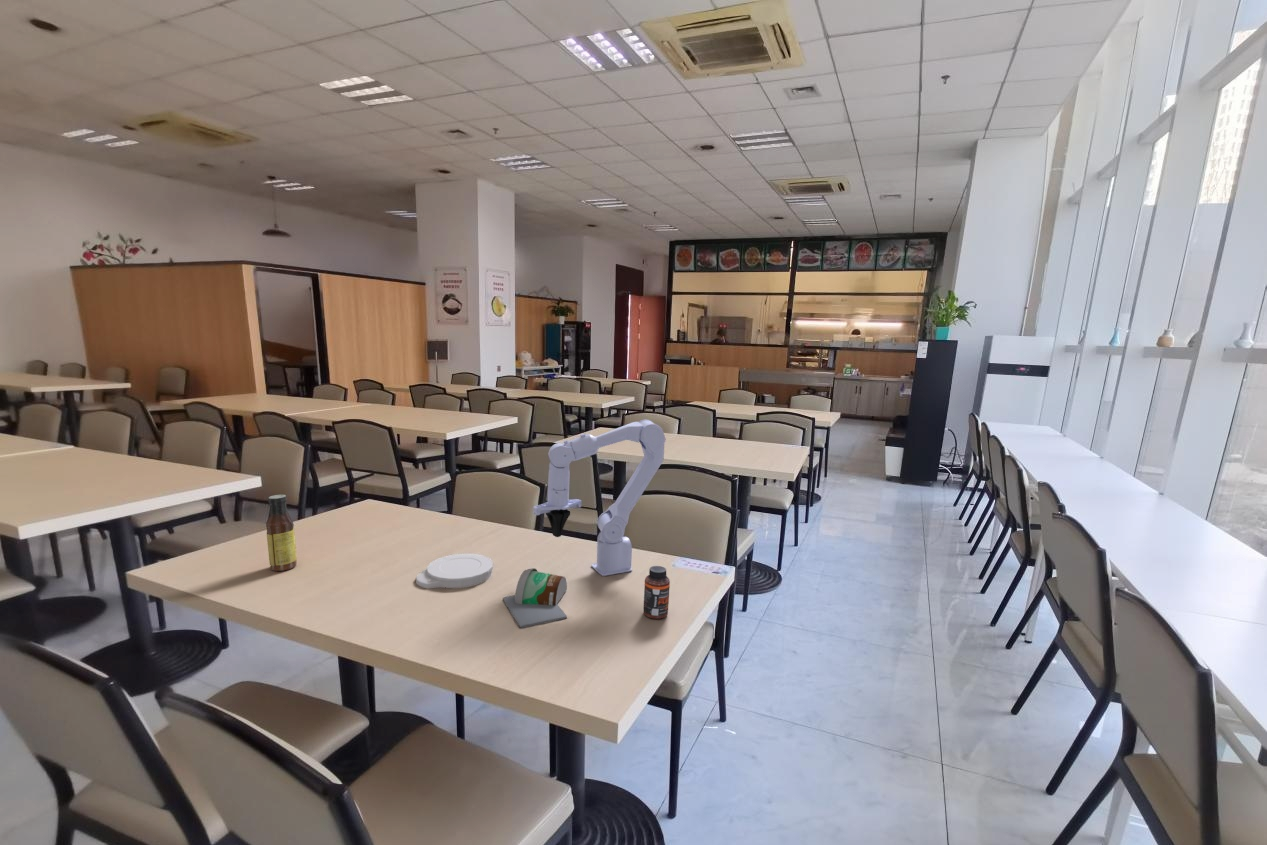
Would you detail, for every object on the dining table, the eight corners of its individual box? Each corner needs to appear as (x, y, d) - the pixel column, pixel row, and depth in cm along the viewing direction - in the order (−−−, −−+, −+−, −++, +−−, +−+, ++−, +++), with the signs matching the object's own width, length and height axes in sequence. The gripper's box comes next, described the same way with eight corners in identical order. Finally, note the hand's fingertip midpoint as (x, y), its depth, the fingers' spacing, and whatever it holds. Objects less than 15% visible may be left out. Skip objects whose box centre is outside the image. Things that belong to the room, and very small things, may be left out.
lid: (408, 573, 148) (408, 562, 148) (480, 559, 160) (480, 549, 159) (425, 598, 134) (425, 586, 134) (503, 580, 146) (503, 570, 145)
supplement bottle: (660, 622, 126) (662, 576, 125) (638, 615, 129) (640, 569, 128) (672, 612, 131) (674, 567, 130) (651, 605, 134) (653, 561, 133)
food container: (554, 583, 129) (513, 579, 131) (553, 608, 130) (513, 603, 132) (569, 564, 141) (532, 560, 143) (568, 586, 142) (531, 582, 144)
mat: (545, 591, 140) (545, 589, 140) (566, 618, 127) (566, 616, 127) (502, 599, 135) (502, 597, 135) (520, 628, 122) (520, 625, 121)
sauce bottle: (302, 563, 151) (299, 493, 148) (286, 573, 145) (282, 500, 142) (280, 562, 151) (276, 492, 149) (262, 571, 145) (258, 498, 142)
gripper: (543, 494, 141) (542, 545, 143) (588, 487, 151) (586, 535, 153) (529, 488, 146) (528, 537, 148) (573, 482, 156) (571, 527, 158)
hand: (556, 535), depth 151 cm, fingers closed
